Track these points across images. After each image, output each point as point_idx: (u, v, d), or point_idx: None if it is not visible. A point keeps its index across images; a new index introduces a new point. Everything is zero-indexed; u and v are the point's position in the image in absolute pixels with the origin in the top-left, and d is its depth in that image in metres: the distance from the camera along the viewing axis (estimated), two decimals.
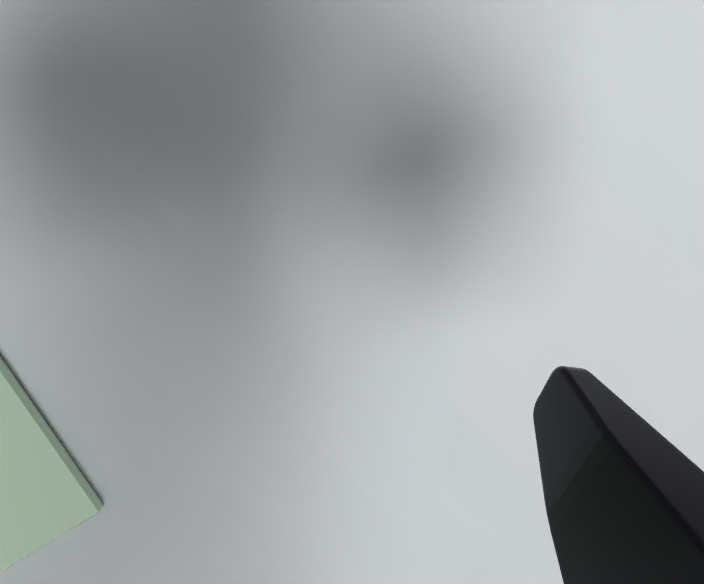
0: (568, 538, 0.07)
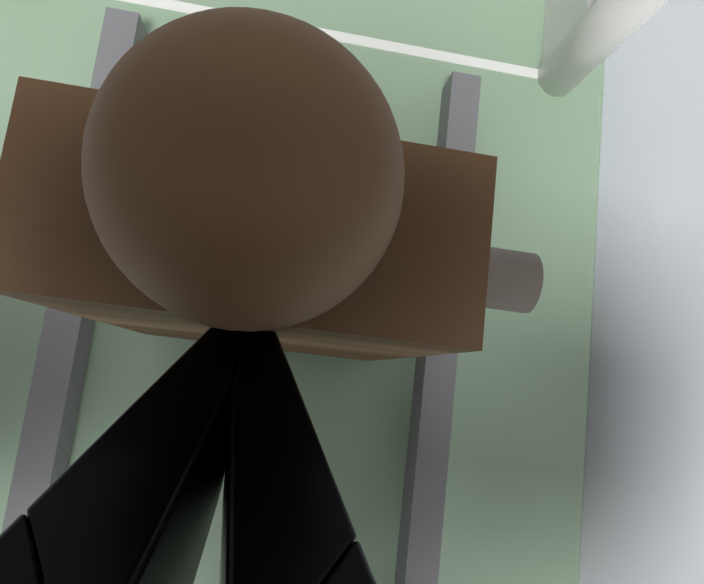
0: (223, 509, 0.07)
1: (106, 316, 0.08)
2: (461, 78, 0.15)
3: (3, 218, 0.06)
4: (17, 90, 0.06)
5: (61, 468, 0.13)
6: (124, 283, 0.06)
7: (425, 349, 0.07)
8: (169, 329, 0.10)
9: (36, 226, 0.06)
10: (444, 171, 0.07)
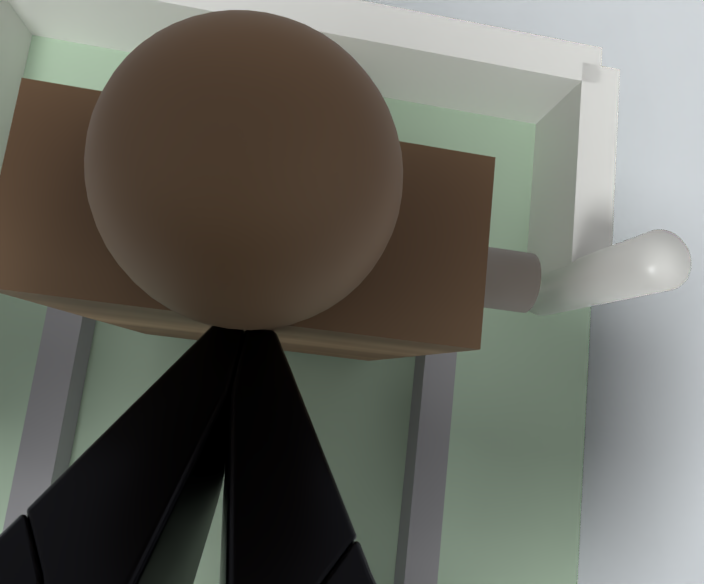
0: (223, 509, 0.07)
1: (107, 316, 0.08)
2: None
3: (6, 218, 0.06)
4: (19, 91, 0.06)
5: None
6: (125, 283, 0.06)
7: (424, 348, 0.08)
8: (170, 329, 0.10)
9: (39, 226, 0.06)
10: (442, 172, 0.07)
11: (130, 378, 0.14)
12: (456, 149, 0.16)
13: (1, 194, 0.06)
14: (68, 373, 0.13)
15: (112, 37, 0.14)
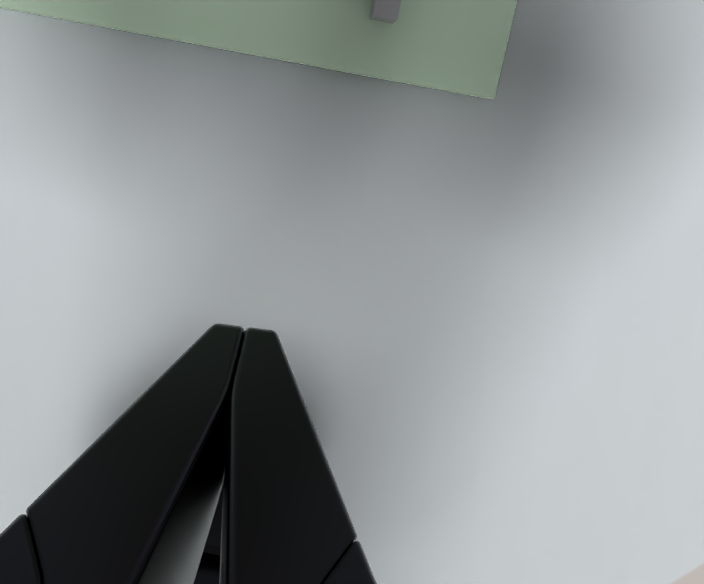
0: (223, 508, 0.07)
1: None
2: None
3: None
4: None
5: None
6: None
7: None
8: None
9: None
10: None
11: None
12: None
13: None
14: None
15: None
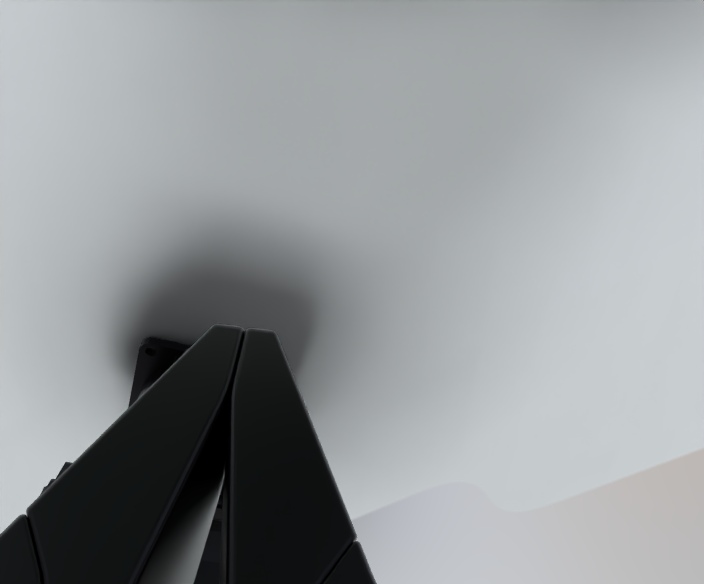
0: (223, 509, 0.07)
1: None
2: None
3: None
4: None
5: None
6: None
7: None
8: None
9: None
10: None
11: None
12: None
13: None
14: None
15: None
